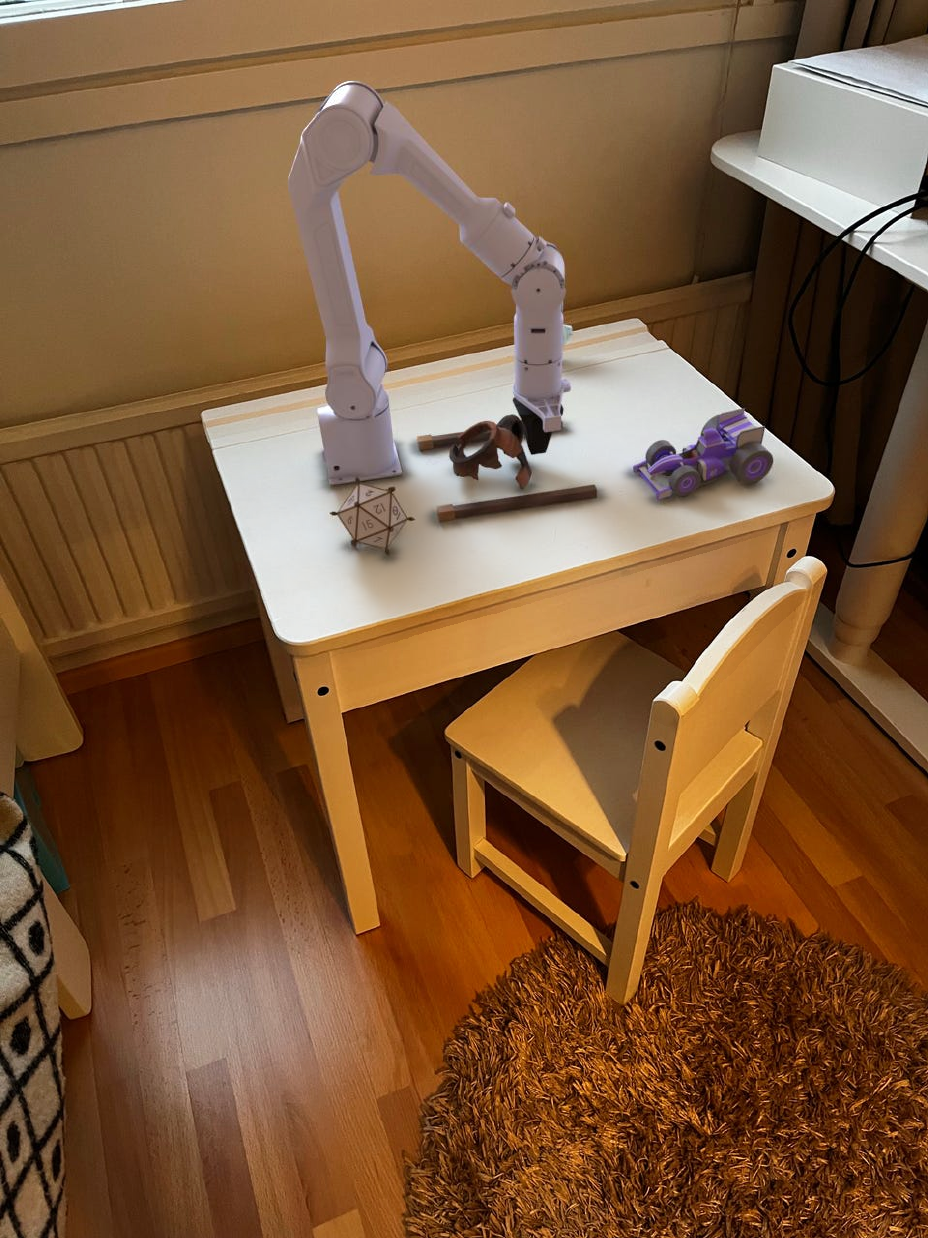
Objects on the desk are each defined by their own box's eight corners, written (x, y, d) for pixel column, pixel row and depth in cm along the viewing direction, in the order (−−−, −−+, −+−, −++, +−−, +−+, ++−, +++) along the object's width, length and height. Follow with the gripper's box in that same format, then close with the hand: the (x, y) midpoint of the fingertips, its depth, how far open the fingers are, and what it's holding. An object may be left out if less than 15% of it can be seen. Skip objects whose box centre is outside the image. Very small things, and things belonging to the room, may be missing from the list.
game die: (366, 561, 112) (334, 485, 111) (429, 537, 111) (397, 459, 109) (346, 575, 104) (311, 493, 102) (414, 549, 102) (379, 465, 100)
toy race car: (627, 466, 118) (631, 422, 114) (729, 441, 121) (737, 398, 117) (662, 507, 112) (668, 462, 107) (769, 480, 115) (780, 435, 110)
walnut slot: (439, 522, 112) (438, 512, 111) (417, 445, 124) (416, 436, 123) (597, 497, 114) (597, 488, 113) (560, 424, 126) (560, 415, 125)
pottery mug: (521, 507, 114) (486, 461, 109) (465, 514, 120) (430, 470, 115) (556, 438, 119) (523, 391, 114) (500, 448, 125) (467, 404, 121)
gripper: (588, 378, 104) (583, 477, 113) (555, 322, 114) (553, 417, 123) (527, 386, 103) (527, 486, 112) (500, 329, 113) (502, 425, 123)
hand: (537, 450), depth 118 cm, fingers closed
